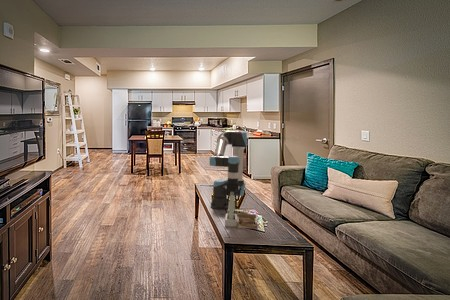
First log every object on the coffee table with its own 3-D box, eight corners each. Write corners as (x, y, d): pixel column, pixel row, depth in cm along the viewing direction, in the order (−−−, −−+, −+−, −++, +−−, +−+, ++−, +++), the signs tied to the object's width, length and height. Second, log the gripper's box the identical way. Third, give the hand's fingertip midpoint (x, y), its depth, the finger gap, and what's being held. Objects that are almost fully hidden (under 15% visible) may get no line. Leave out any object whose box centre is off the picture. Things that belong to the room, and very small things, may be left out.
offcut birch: (239, 226, 238) (239, 222, 238) (253, 226, 239) (253, 222, 238) (239, 227, 234) (239, 224, 234) (254, 228, 235) (254, 224, 234)
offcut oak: (241, 220, 236) (241, 218, 236) (248, 219, 239) (248, 217, 239) (243, 222, 233) (243, 220, 233) (251, 221, 236) (251, 219, 235)
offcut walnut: (239, 223, 237) (239, 220, 237) (251, 222, 240) (251, 219, 240) (241, 225, 233) (241, 222, 233) (253, 223, 236) (253, 221, 236)
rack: (236, 221, 247) (237, 213, 247) (255, 222, 247) (256, 214, 246) (236, 227, 233) (237, 219, 233) (256, 228, 233) (257, 220, 232)
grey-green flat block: (228, 223, 236) (229, 195, 234) (229, 218, 246) (230, 191, 244) (233, 223, 236) (234, 195, 234) (233, 218, 246) (234, 192, 244)
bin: (225, 220, 249) (225, 213, 248) (236, 220, 248) (237, 214, 248) (224, 226, 235) (225, 219, 234) (236, 227, 234) (236, 220, 234)
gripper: (221, 178, 234) (220, 210, 237) (244, 179, 234) (242, 212, 236) (221, 176, 242) (220, 207, 244) (244, 177, 241) (242, 209, 244)
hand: (231, 209), depth 240 cm, fingers closed on grey-green flat block, 3 cm apart
